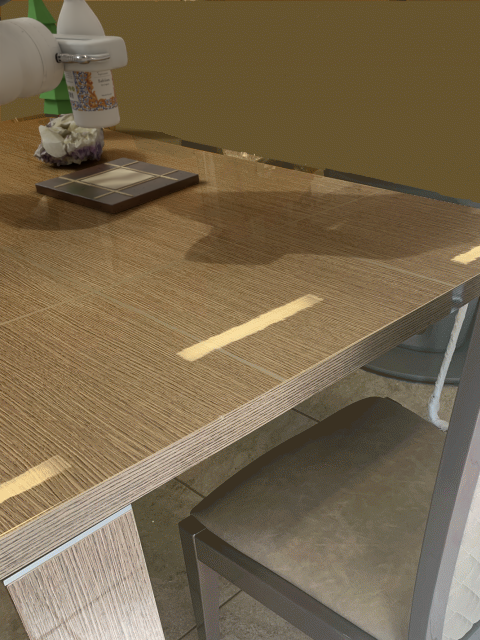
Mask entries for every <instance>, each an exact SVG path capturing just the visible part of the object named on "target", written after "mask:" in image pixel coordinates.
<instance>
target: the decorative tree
mask: <svg viewBox="0 0 480 640" xmlns="http://www.w3.org/2000/svg"><path fill="white" fill-rule="evenodd" d="M27 3H28V8H27V10H28V11H27V18H32V19H35V20H37V21H39V22H40V23H42V24H43V25H44V26H46V27H47V28H48V29H49V31H50V32H51V33H52V34H57V23H58V21H56V19H55V18H54V17H53V15H52V14H51V12H50V10H49V9H48V7H47V6H46V5H45V3H44V1H43V0H28V1H27ZM38 97H39V99H42V100H44V102H43V114H46V115H47V114H48V115H56V116H57V118H58V117H59V115H61V114H71V113H73V111H72V106H71V102H70V97H69V92H68V88H67V83H66V78H65V74H64V73H63V77H62V80H61V82H60V84H59V85H58V86H57V87H56V88H55V89H53V90H51V91H48V92H45V93H41V94H39V96H38Z"/></svg>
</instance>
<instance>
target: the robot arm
mask: <svg viewBox="0 0 480 640" xmlns="http://www.w3.org/2000/svg"><path fill="white" fill-rule="evenodd" d="M10 1H12V0H0V7H3V6H4V5H6V4H8V3H9V2H10ZM128 62H129V59H128V51H127V46H126V42H125V40H124V39H123V37H121V36H116V35H105V36H95V35H71V34H52V33H51V32H50V31H49V29H48V28H47V27H46V26H44V25H43V24H42V23H40V22H39V21H37V20H35V19H32V18H28V16H27V17H25V16H23V17H17V18H9V19H2V20H0V107H1V106H5V105H8V104H10V103H13V102H14V101H16V100H17V99H27V98H31V97H35V96H37V95H40V94H41V93H45V92H48V91H51V90H53V89H55V88H56V87H57V86H58V85H59V84H60V82H61V80H62V77H63V73H64V71H78V72H101V71H107V70H112V71H113V70H117V69H121V68H125V67H127V66H128Z"/></svg>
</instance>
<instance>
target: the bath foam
mask: <svg viewBox="0 0 480 640" xmlns="http://www.w3.org/2000/svg"><path fill="white" fill-rule="evenodd" d="M56 27H57V34H71V35H95V36H106V34H105V33H106V32H105V30H104V28H103V26H102V23H101V22H100V20H99V18H98V16H97V15H96V14H95V13H94V11H93V9H92V8H91V7H90V6H89V4H88V3H87V1H86V0H63V4H62V6H61V9H60V13H59V15H58V19H57V23H56ZM64 74H65V78H66V83H67V88H68V92H69V97H70V102H71V106H72V111H73V115H74V120H75V123H76V125H77V126H79V127H82V128H92V129H95V128H103V129H106V128H111V127H114V126H116V125H118V124H120V122H121V117H120V109H119V105H118V99H117V93H116V92H117V91H116V88H115V81H114V76H113V69H112V70H107V71H101V72H78V71H64Z"/></svg>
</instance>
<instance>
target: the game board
mask: <svg viewBox="0 0 480 640" xmlns="http://www.w3.org/2000/svg"><path fill="white" fill-rule="evenodd" d="M199 183H200V175H199V173H195V172H190V171H185V170H181V169H177V168H173V167H168V166H164V165H159V164H154V163H150V162H145V161H141V160H136V159H133V158H132V159H131V158H128V157H120V158H116V159H114V160H110V161H106V162H103V163H100V164H96V165H93V166H90V167H87V168H83V169H80V170H77V171H73V172H70V173H67V174H63V175H60V176H56V177H53V178H49V179H46V180H43V181H39V182H36V183H34V186H35V190H36V192H37V193H38V194H41V195H46V196H49V197H52V198H56V199H60V200H63V201H67V202H71V203H74V204H77V205H80V206H85V207H88V208H92V209H94V210H98V211H101V212H106V213H109V214H112V215H115V214H117V213H120V212H124V211H126V210H128V209H131V208H134V207H136V206H140V205H142V204H145V203H147V202H150V201H153V200H156V199H159V198H161V197H164V196H167V195H170V194H172V193H175V192H178V191H180V190H182V189H183V190H184V189H186V188H188V187H192V186H194V185H197V184H199Z"/></svg>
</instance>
